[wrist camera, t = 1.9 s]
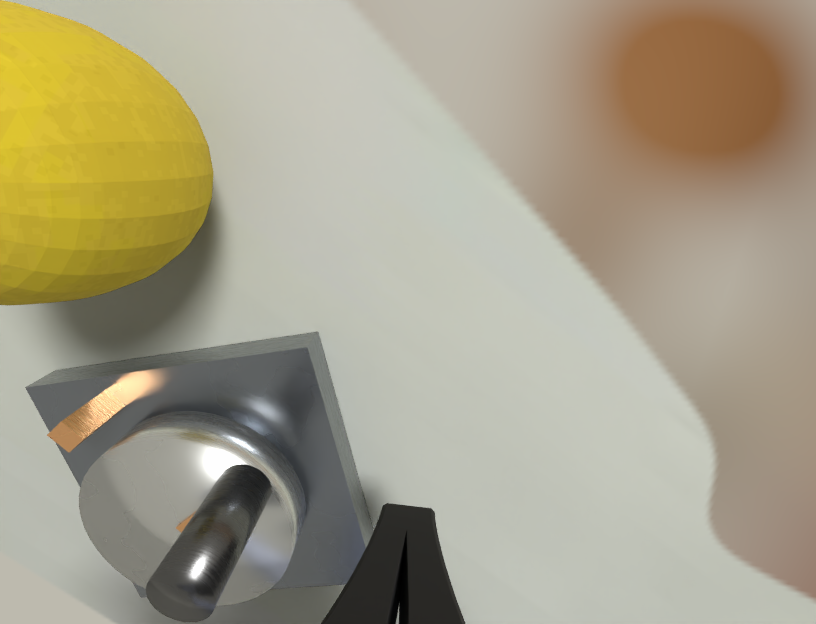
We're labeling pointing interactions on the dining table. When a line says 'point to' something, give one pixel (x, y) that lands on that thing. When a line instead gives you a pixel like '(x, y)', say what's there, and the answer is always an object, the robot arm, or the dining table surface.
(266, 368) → the dial plate
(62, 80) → the lemon
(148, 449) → the dial
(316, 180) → the dining table surface
